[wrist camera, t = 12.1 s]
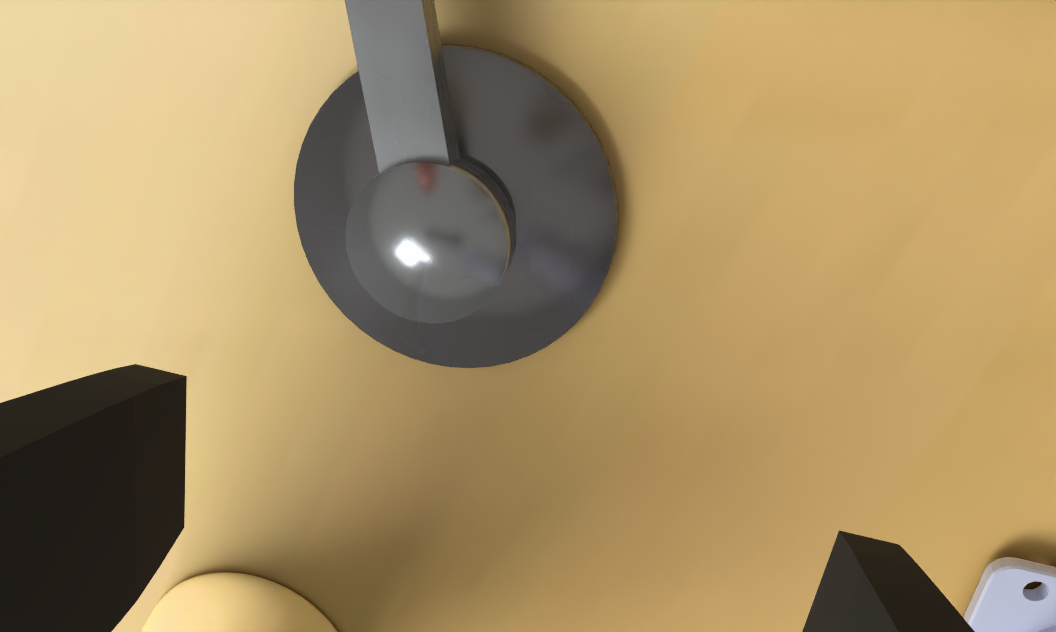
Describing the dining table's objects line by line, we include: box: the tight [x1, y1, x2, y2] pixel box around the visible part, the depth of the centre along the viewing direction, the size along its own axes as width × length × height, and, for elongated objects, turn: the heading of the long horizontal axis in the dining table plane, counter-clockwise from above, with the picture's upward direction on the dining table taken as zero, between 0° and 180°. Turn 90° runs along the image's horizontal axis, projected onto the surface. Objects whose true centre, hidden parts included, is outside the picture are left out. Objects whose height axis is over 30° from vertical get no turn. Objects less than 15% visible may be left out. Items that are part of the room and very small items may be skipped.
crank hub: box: [294, 45, 617, 368], centre depth 19 cm, size 7×7×1 cm
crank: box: [345, 0, 517, 323], centre depth 16 cm, size 9×3×4 cm, turn 7°
